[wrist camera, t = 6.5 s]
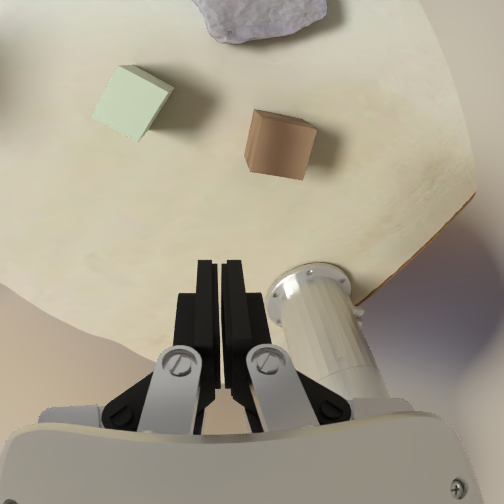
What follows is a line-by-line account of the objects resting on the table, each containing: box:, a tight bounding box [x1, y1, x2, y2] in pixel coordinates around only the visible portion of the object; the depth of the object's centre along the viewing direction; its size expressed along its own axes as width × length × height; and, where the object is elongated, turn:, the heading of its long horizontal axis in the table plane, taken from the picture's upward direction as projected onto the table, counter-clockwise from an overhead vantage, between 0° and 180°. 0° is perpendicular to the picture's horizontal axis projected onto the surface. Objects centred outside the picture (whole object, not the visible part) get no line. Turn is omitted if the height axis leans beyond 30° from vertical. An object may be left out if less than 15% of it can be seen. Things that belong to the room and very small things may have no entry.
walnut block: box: [244, 109, 317, 180], centre depth 27 cm, size 5×5×5 cm
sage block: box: [91, 65, 175, 142], centre depth 23 cm, size 5×5×5 cm
